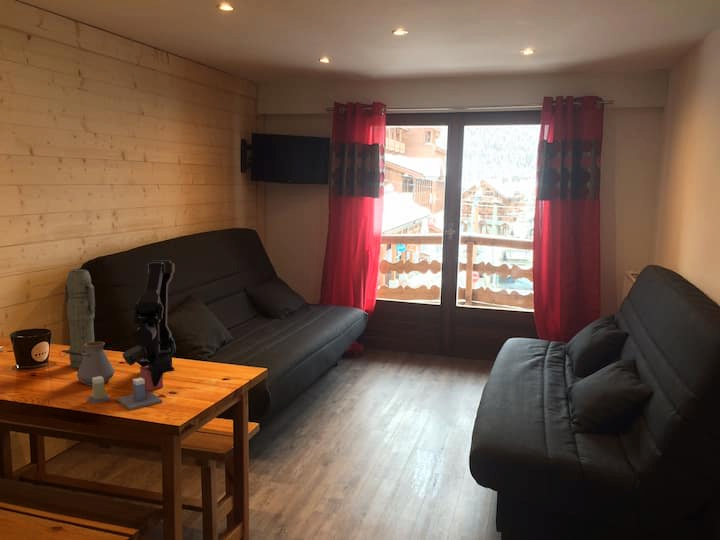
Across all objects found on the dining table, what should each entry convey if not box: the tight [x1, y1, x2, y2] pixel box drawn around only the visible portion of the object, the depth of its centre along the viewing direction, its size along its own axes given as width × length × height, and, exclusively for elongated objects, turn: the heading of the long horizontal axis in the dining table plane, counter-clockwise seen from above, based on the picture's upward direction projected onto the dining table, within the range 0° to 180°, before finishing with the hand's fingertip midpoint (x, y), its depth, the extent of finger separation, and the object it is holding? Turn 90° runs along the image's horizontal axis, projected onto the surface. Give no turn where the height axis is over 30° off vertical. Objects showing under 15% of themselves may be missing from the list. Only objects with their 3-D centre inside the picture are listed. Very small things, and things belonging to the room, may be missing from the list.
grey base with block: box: [87, 376, 111, 405], centre depth 179 cm, size 5×5×7 cm
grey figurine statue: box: [64, 268, 96, 370], centre depth 210 cm, size 9×12×35 cm
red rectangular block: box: [139, 366, 164, 391], centre depth 191 cm, size 5×5×7 cm
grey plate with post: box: [116, 377, 163, 411], centre depth 178 cm, size 10×10×7 cm
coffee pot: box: [58, 341, 115, 386], centre depth 190 cm, size 21×12×15 cm, turn 168°
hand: (151, 383), depth 191 cm, fingers closed on red rectangular block, 5 cm apart
